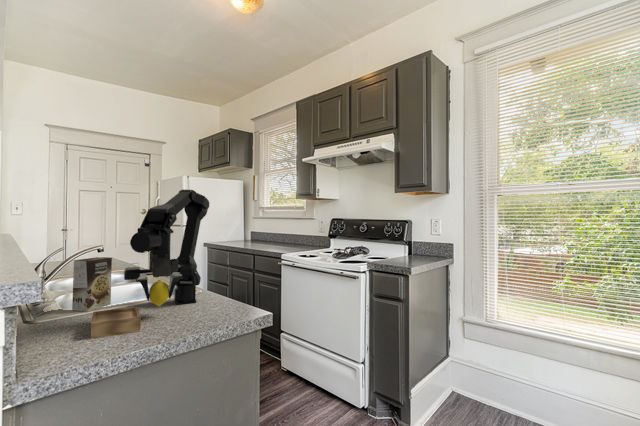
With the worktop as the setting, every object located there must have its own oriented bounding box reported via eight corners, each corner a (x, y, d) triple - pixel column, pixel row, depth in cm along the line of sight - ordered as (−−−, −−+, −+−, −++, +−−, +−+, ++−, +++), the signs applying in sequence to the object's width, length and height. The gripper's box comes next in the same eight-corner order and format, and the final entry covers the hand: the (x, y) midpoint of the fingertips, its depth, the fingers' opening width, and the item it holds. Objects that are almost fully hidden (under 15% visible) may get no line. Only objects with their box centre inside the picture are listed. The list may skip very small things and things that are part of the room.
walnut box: (137, 321, 99) (138, 306, 99) (140, 332, 90) (140, 316, 90) (92, 327, 93) (93, 311, 93) (90, 340, 84) (91, 323, 84)
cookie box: (88, 312, 105) (89, 261, 105) (71, 310, 106) (72, 259, 106) (111, 304, 114) (112, 257, 114) (95, 303, 115) (96, 256, 115)
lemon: (157, 303, 106) (157, 278, 106) (172, 304, 104) (173, 279, 104) (144, 308, 100) (145, 281, 100) (160, 309, 99) (161, 282, 99)
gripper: (125, 253, 91) (124, 310, 91) (197, 250, 100) (196, 302, 100) (124, 248, 100) (123, 300, 100) (190, 246, 110) (189, 294, 110)
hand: (158, 299), depth 102 cm, fingers closed on lemon, 5 cm apart
